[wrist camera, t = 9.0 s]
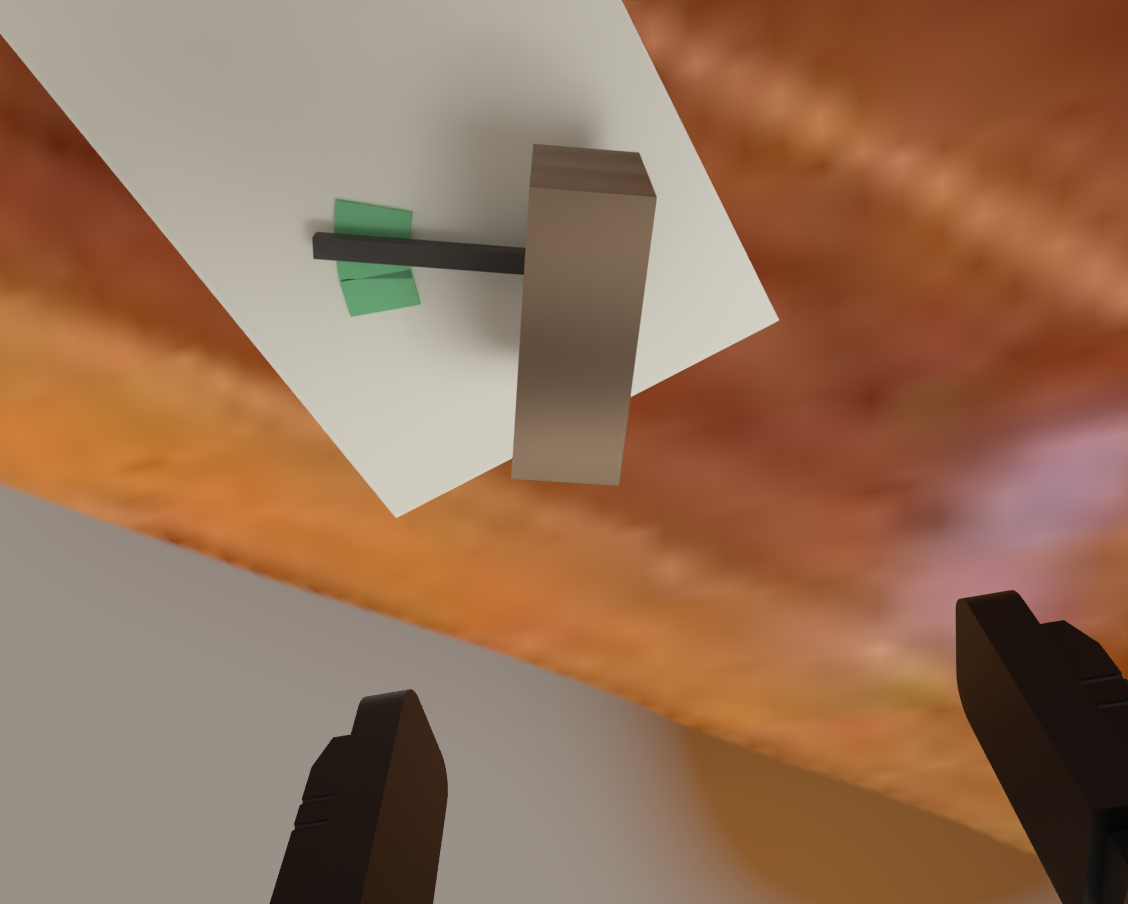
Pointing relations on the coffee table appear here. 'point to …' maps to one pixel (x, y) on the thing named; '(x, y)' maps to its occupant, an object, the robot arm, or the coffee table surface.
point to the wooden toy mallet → (559, 304)
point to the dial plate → (388, 192)
